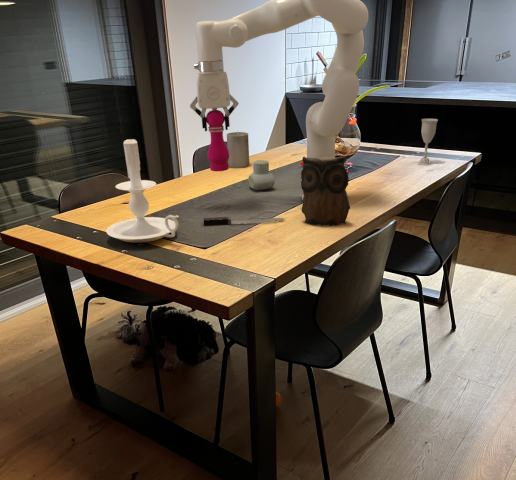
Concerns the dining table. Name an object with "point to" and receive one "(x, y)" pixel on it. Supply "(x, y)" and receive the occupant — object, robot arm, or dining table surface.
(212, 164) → the pepper mill
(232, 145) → the pillar candle
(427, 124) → the chalice
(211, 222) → the knife
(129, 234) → the candlestick
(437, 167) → the dining table surface
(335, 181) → the owl
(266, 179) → the air freshener
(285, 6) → the robot arm
